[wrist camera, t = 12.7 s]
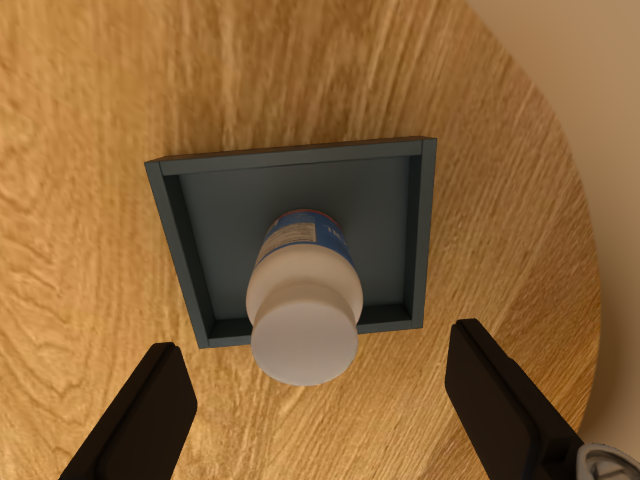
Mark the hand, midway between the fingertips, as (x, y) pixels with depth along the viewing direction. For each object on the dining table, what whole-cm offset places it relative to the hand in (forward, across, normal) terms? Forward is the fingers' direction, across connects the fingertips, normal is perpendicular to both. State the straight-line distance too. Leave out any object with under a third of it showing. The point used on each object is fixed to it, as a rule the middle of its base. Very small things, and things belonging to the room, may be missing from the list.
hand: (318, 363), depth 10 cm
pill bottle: (+11, +1, 0) cm, 11 cm away
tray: (+11, +1, 0) cm, 11 cm away
